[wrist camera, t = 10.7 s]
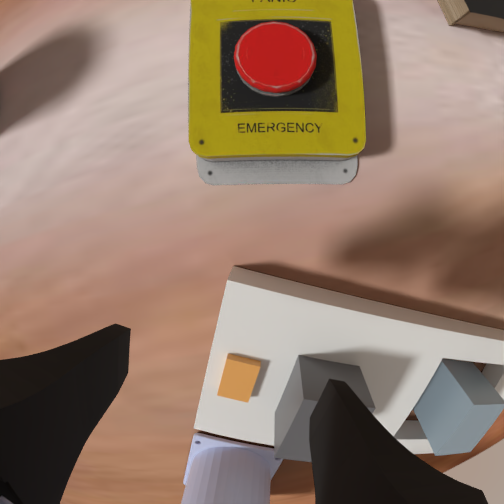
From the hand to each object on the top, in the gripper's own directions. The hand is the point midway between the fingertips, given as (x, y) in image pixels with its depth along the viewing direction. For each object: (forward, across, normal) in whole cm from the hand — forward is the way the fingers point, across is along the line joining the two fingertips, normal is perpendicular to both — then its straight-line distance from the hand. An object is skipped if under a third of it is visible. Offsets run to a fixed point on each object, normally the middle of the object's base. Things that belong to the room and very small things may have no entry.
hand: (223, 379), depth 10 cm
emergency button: (+10, +2, -14) cm, 17 cm away
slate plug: (+10, -18, +5) cm, 21 cm away
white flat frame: (+9, -12, +5) cm, 16 cm away
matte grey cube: (+7, -6, +5) cm, 10 cm away
